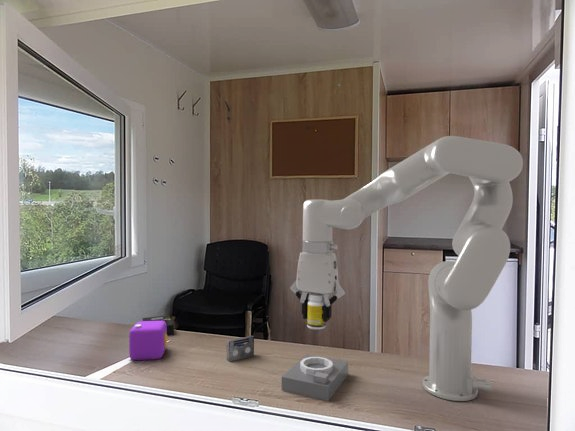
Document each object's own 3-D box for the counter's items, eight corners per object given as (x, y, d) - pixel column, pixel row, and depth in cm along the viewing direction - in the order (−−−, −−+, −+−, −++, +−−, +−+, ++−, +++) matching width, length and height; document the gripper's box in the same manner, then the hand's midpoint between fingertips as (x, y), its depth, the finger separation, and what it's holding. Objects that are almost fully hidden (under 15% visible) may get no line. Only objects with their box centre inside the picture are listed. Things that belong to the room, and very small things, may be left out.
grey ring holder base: (348, 374, 104) (348, 356, 104) (328, 401, 90) (328, 380, 90) (306, 366, 109) (306, 348, 109) (281, 390, 95) (281, 370, 95)
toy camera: (167, 343, 127) (167, 313, 126) (168, 359, 114) (168, 325, 113) (131, 347, 123) (131, 316, 123) (128, 364, 110) (128, 329, 110)
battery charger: (142, 328, 143) (142, 317, 143) (169, 325, 147) (169, 315, 147) (144, 339, 131) (144, 328, 131) (173, 336, 135) (173, 324, 135)
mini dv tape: (251, 354, 118) (251, 335, 118) (253, 356, 117) (254, 336, 117) (226, 360, 113) (226, 340, 113) (228, 362, 112) (228, 341, 112)
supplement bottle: (324, 330, 96) (324, 296, 96) (305, 329, 97) (306, 295, 97) (326, 324, 101) (326, 292, 101) (308, 323, 102) (308, 291, 102)
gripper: (354, 248, 98) (352, 319, 99) (293, 244, 106) (292, 311, 106) (345, 251, 92) (344, 328, 92) (280, 247, 99) (280, 318, 99)
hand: (316, 318), depth 99 cm, fingers closed on supplement bottle, 4 cm apart
